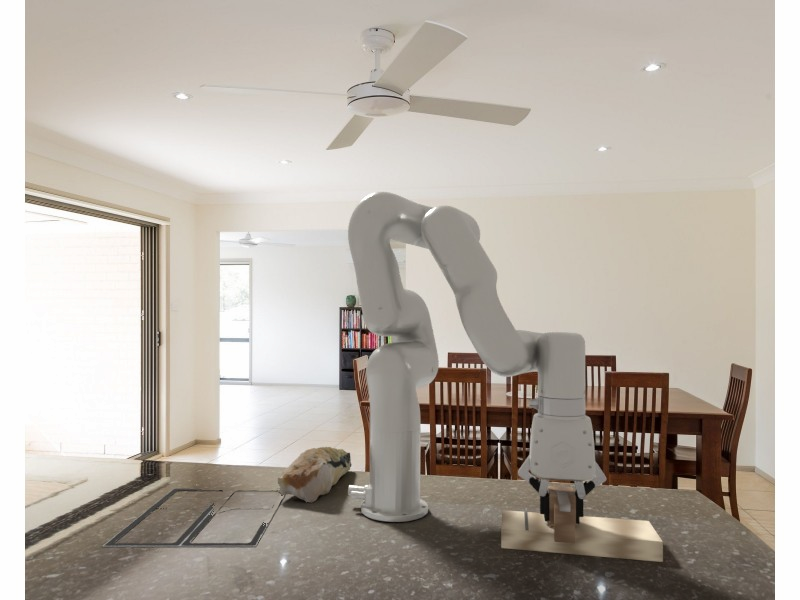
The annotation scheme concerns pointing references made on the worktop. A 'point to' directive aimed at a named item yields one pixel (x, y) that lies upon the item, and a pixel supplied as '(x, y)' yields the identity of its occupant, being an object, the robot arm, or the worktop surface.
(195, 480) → the worktop surface
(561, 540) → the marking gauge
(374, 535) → the worktop surface
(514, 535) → the birch board
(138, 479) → the worktop surface
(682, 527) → the worktop surface
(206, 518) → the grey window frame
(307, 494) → the mineral
